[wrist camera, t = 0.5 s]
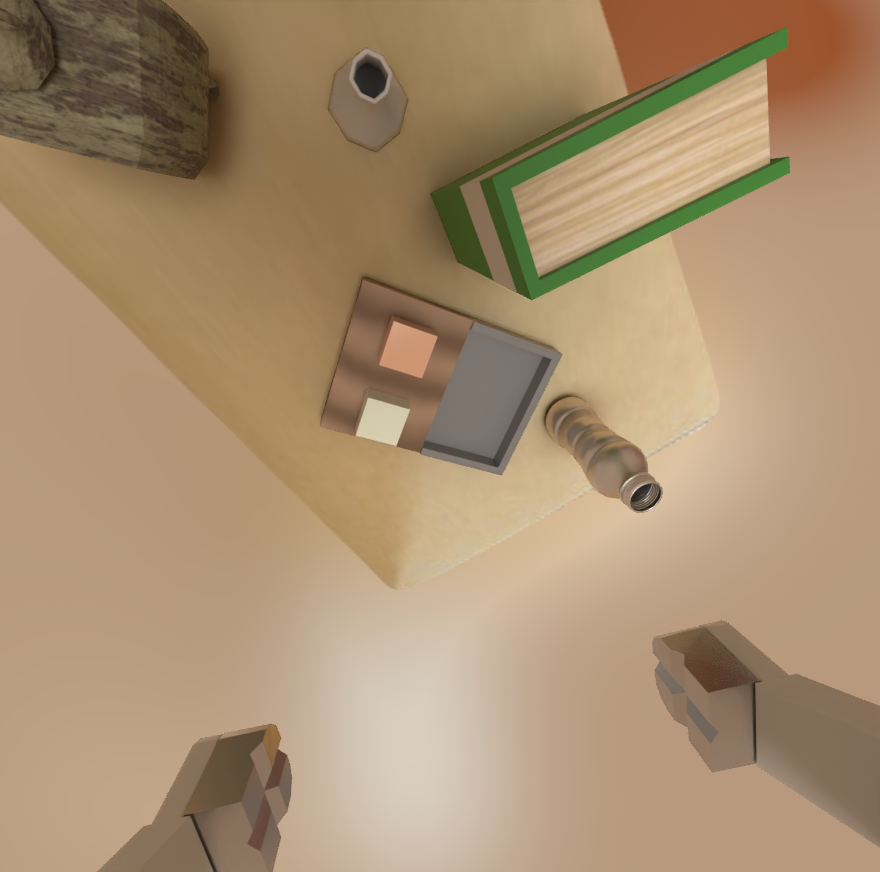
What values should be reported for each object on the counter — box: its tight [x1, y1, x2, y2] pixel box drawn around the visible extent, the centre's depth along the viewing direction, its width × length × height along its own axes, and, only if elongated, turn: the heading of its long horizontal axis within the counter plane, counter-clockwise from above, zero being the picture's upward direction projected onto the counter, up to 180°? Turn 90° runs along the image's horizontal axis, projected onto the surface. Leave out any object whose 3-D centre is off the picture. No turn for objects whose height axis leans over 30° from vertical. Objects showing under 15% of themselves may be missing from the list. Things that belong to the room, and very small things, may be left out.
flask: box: [328, 48, 408, 152], centre depth 37 cm, size 7×7×10 cm
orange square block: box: [378, 315, 438, 378], centre depth 48 cm, size 5×5×3 cm
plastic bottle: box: [546, 397, 663, 513], centre depth 52 cm, size 6×7×20 cm
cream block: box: [356, 388, 410, 446], centre depth 52 cm, size 5×5×3 cm
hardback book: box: [431, 27, 790, 300], centre depth 36 cm, size 18×7×24 cm, turn 114°
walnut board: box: [320, 277, 473, 452], centre depth 52 cm, size 18×13×2 cm
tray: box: [420, 316, 562, 475], centre depth 56 cm, size 18×12×3 cm, turn 159°
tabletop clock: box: [0, 0, 219, 180], centre depth 28 cm, size 14×9×25 cm, turn 77°
